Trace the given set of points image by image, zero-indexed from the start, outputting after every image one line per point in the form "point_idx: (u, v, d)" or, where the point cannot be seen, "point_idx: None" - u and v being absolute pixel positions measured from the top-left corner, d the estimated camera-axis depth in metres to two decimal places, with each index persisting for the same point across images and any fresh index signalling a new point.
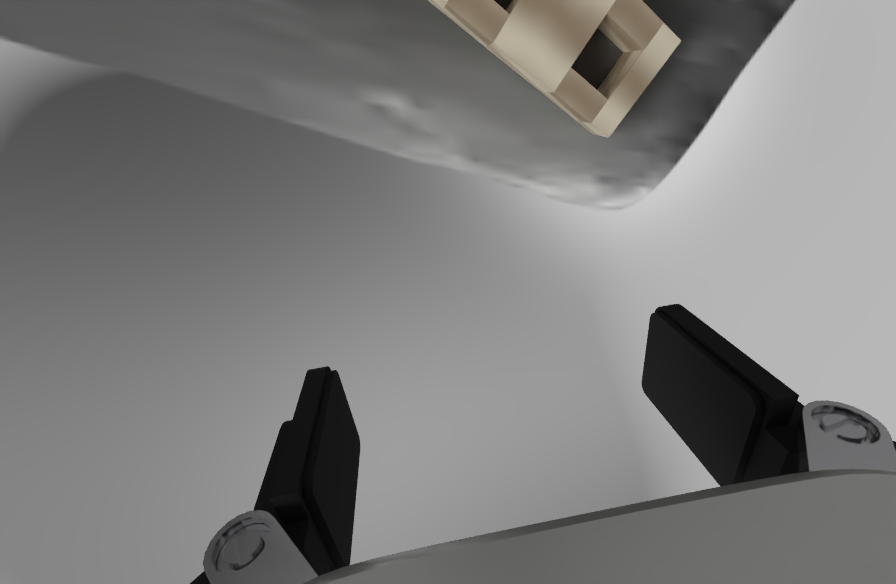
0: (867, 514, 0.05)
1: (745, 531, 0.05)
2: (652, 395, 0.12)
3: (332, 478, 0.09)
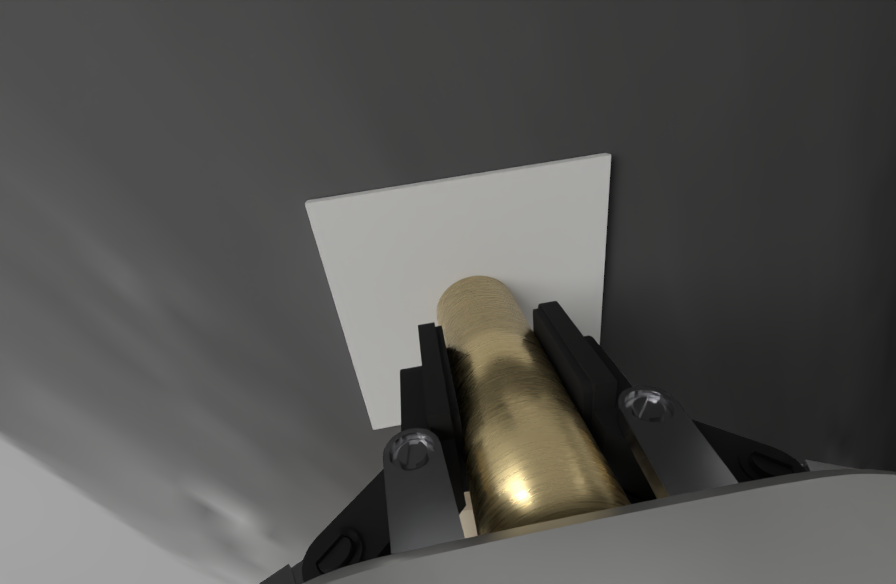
0: (867, 514, 0.05)
1: (747, 531, 0.05)
2: None
3: None
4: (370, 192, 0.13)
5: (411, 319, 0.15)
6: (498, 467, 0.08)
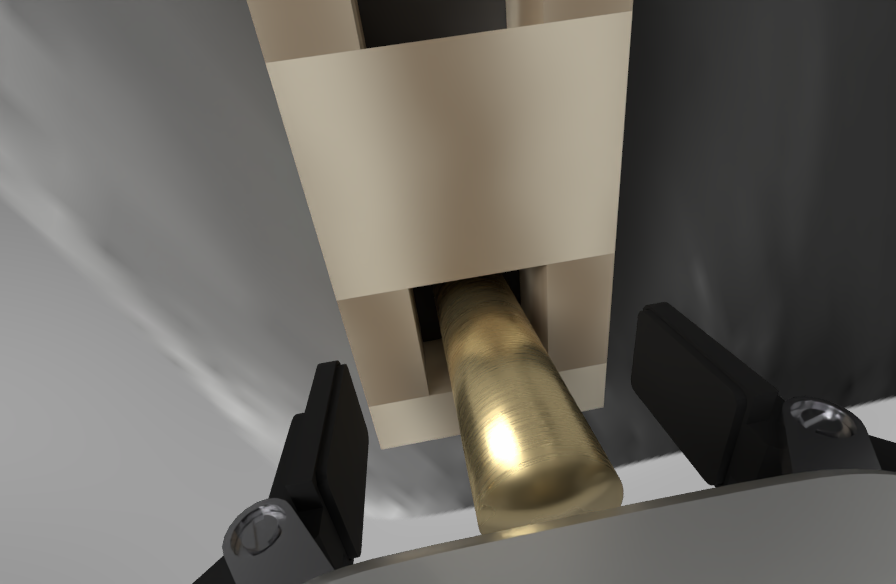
0: (867, 514, 0.05)
1: (746, 531, 0.05)
2: (641, 392, 0.12)
3: (344, 468, 0.09)
4: None
5: None
6: (481, 397, 0.09)
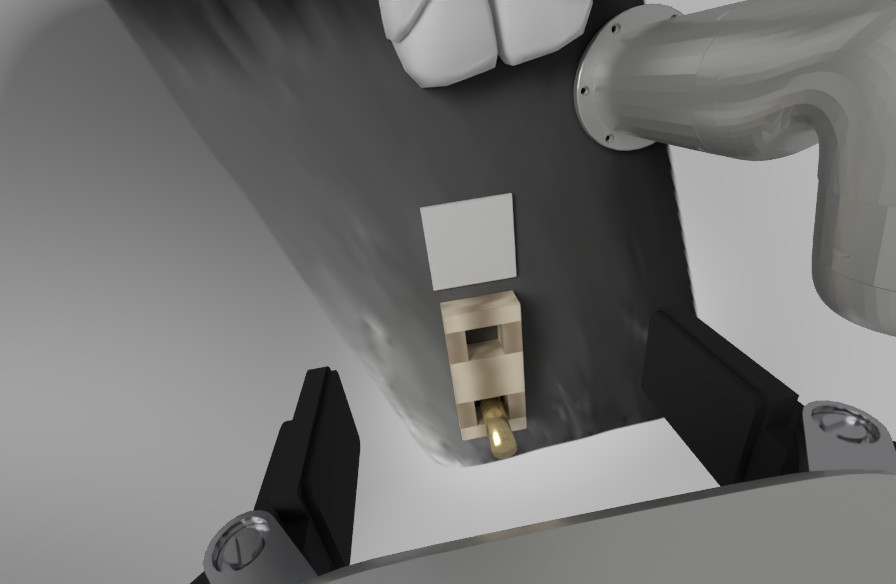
0: (867, 514, 0.05)
1: (747, 531, 0.05)
2: (652, 395, 0.12)
3: (332, 478, 0.09)
4: (439, 205, 0.43)
5: (449, 246, 0.45)
6: (492, 429, 0.49)
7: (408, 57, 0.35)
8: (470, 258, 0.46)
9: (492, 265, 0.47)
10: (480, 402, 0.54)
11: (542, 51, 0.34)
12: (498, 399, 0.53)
